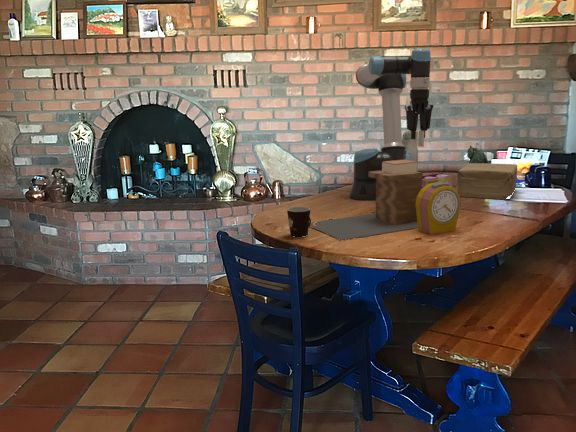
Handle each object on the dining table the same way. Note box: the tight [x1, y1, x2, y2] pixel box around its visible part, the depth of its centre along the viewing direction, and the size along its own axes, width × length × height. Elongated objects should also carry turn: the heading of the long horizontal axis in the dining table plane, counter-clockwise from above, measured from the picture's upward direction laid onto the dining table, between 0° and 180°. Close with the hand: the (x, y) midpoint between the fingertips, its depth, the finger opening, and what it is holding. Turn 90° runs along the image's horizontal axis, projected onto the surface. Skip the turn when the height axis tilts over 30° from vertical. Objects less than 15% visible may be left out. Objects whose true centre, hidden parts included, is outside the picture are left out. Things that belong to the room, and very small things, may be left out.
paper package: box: [457, 162, 518, 201], centre depth 279 cm, size 27×26×14 cm
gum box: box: [422, 172, 454, 188], centre depth 255 cm, size 24×8×14 cm, turn 124°
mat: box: [310, 212, 418, 241], centre depth 225 cm, size 28×44×1 cm, turn 117°
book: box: [382, 160, 418, 174], centre depth 226 cm, size 8×11×4 cm
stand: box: [368, 170, 424, 225], centre depth 228 cm, size 14×16×20 cm
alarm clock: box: [415, 182, 462, 235], centre depth 213 cm, size 15×8×18 cm, turn 114°
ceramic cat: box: [466, 143, 489, 164], centre depth 323 cm, size 20×6×20 cm, turn 6°
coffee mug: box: [286, 206, 312, 238], centre depth 208 cm, size 12×9×10 cm
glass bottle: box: [402, 130, 419, 168], centre depth 318 cm, size 10×10×28 cm
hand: (417, 146), depth 236 cm, fingers open, 3 cm apart
